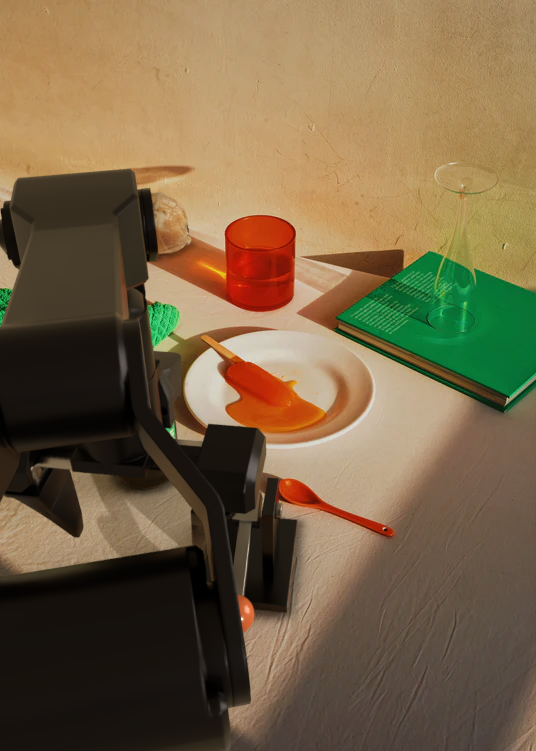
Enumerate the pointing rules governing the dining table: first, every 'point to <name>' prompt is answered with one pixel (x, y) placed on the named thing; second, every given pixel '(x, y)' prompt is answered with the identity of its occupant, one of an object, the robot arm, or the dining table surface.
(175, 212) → the bread roll
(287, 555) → the bracket
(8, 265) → the dining table surface
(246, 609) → the lever
